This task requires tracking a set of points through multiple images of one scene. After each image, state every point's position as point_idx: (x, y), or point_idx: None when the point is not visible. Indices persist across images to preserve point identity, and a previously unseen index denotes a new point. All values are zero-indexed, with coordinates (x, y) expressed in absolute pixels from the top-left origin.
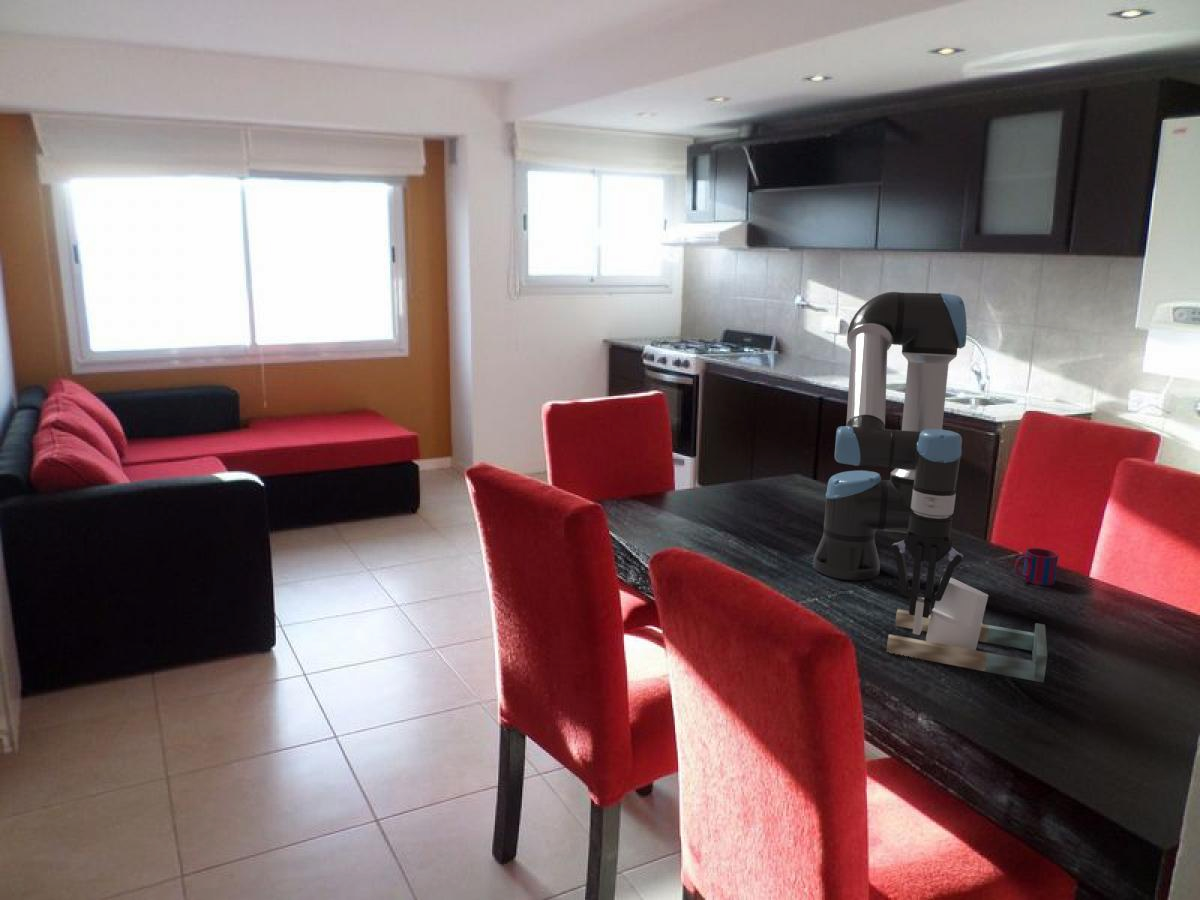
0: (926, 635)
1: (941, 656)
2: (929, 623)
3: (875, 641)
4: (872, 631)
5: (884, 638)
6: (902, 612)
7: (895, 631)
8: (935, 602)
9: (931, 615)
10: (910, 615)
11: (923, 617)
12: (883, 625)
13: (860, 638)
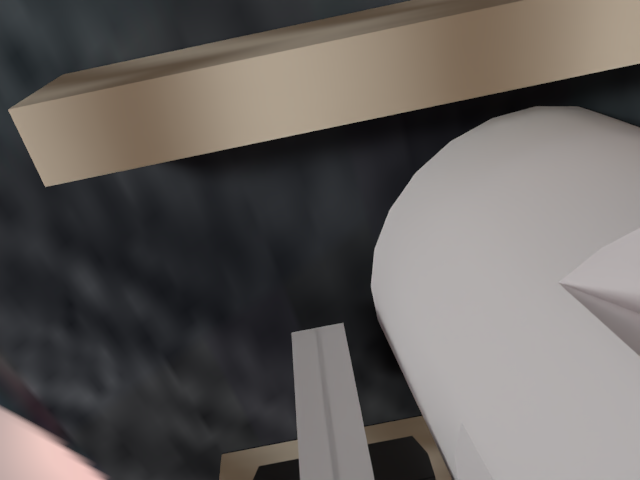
0: (376, 299)
1: None
2: (417, 404)
3: (127, 417)
4: (32, 318)
5: (144, 360)
6: (94, 167)
7: (142, 229)
8: (492, 473)
9: (444, 461)
10: (176, 153)
11: (294, 130)
12: (21, 183)
13: (45, 432)
